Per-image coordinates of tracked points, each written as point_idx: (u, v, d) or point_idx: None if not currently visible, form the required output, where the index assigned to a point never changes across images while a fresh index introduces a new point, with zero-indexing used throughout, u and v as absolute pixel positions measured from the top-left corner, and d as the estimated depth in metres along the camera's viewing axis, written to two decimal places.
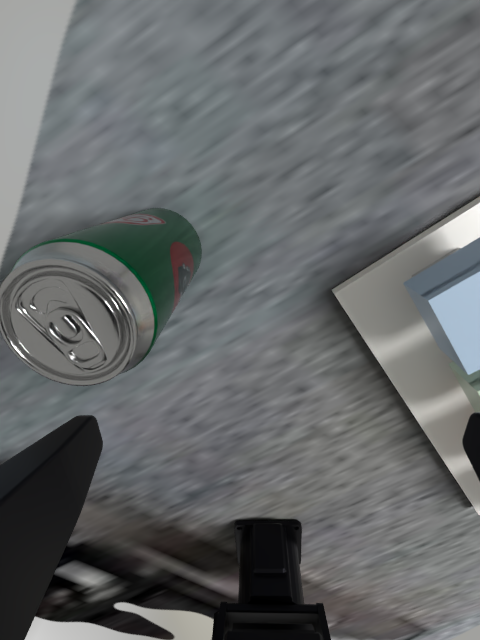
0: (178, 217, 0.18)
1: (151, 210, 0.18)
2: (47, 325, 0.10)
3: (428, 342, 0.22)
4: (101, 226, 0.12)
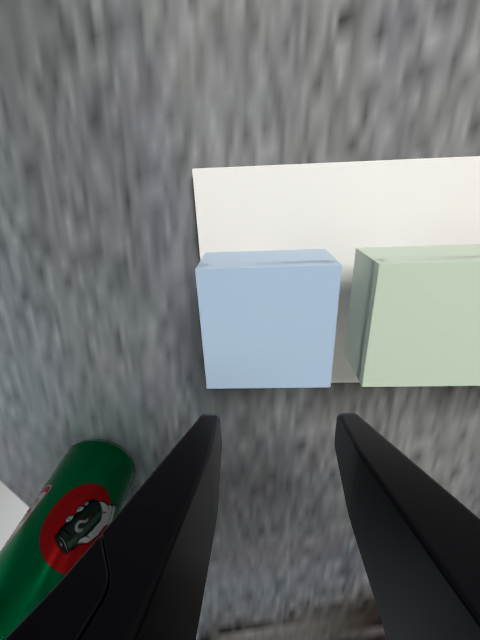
0: (74, 451, 0.22)
1: None
2: None
3: None
4: None
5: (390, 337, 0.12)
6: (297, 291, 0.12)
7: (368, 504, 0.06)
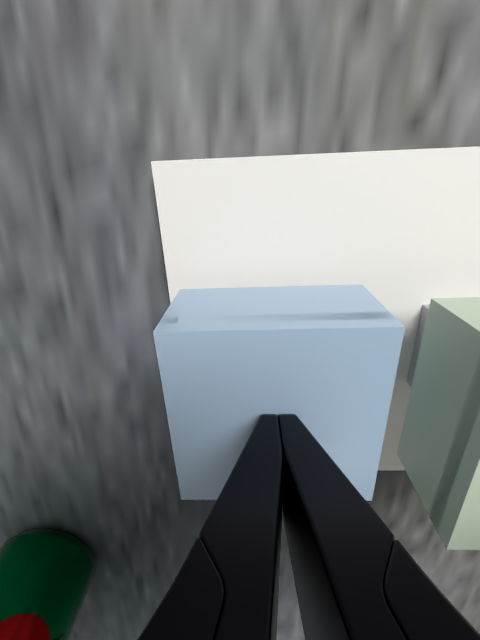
0: (8, 552, 0.16)
1: None
2: None
3: None
4: None
5: None
6: (326, 366, 0.07)
7: (290, 504, 0.06)
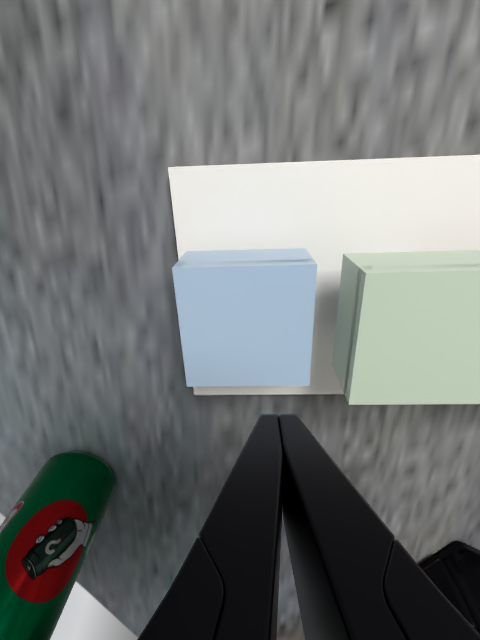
0: (51, 464, 0.20)
1: (32, 481, 0.20)
2: None
3: (315, 341, 0.17)
4: None
5: (379, 352, 0.11)
6: (274, 289, 0.12)
7: (290, 504, 0.06)
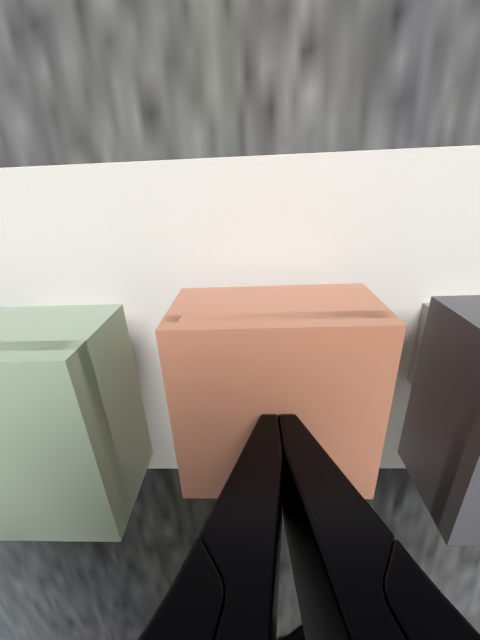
0: None
1: None
2: None
3: None
4: None
5: None
6: None
7: (290, 504, 0.06)
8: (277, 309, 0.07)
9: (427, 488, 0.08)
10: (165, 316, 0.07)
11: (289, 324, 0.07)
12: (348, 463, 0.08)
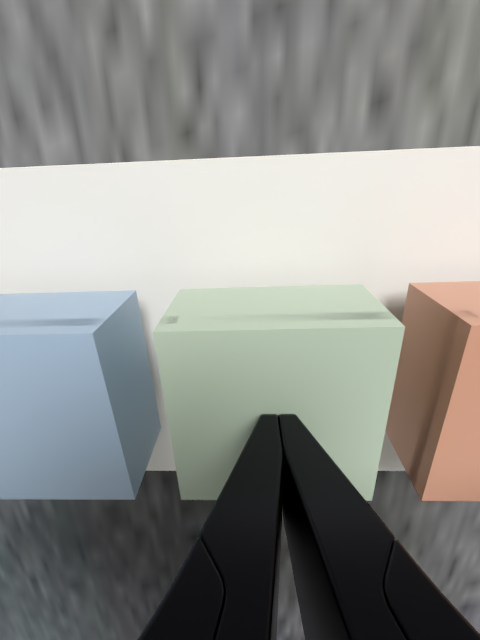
0: None
1: None
2: None
3: None
4: None
5: (203, 436, 0.08)
6: (37, 371, 0.07)
7: (290, 504, 0.06)
8: None
9: None
10: (451, 310, 0.07)
11: None
12: None
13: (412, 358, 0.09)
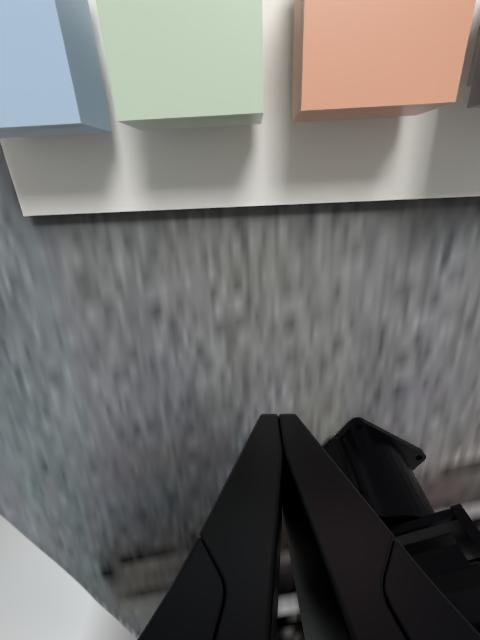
0: None
1: None
2: None
3: (140, 132, 0.15)
4: None
5: (127, 36, 0.10)
6: None
7: (290, 504, 0.06)
8: None
9: None
10: None
11: None
12: (440, 53, 0.10)
13: (297, 10, 0.11)
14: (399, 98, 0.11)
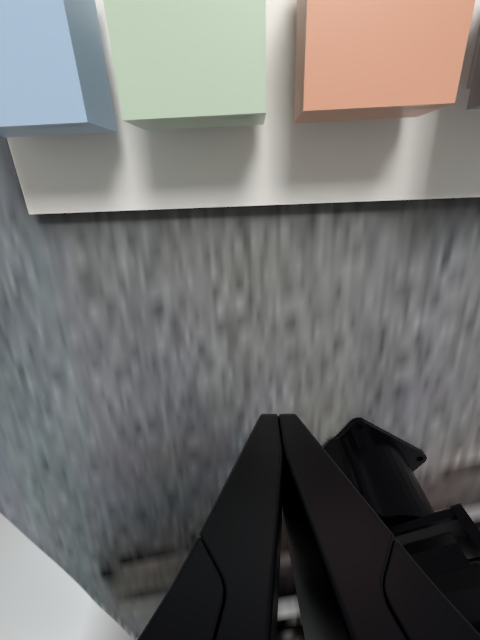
0: None
1: None
2: None
3: (145, 133, 0.15)
4: None
5: (133, 37, 0.11)
6: None
7: (290, 504, 0.06)
8: None
9: None
10: None
11: None
12: (439, 55, 0.10)
13: (299, 13, 0.12)
14: (399, 99, 0.11)
